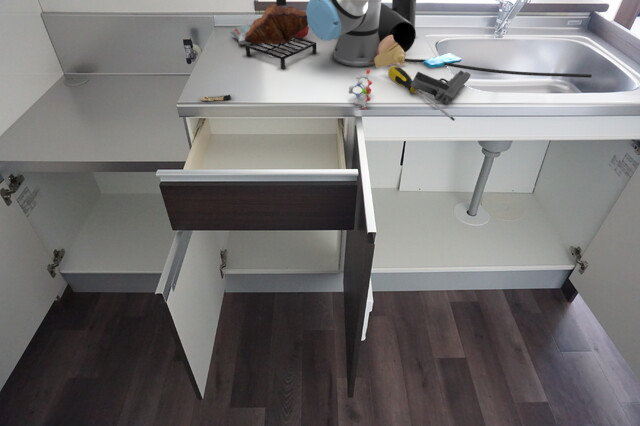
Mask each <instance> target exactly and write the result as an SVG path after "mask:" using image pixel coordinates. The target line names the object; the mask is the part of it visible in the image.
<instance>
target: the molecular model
mask: <svg viewBox="0 0 640 426" xmlns="http://www.w3.org/2000/svg"><path fill="white" fill-rule="evenodd" d="M370 73H371V69H369V68H368V69H366V72H365V74H364V75H362V76H361V75H356V77H355V78H356V80H357V82H356V84H355V85H350V86H349V87H348V89H349V90H348V93H349V94H353V95H355V101H354V102H353V103H354V105H356V106H357V105H360V106H361V108H362V109H363V110H364V111H366V110H367V107H366V104H367V103H368V102H369V101H371V97H370V96H369V95H370V94H371V93H372V89H371V87H370V86H371V85H373V82H372V80H370V79H369V75H370ZM361 79H365V80H366V81H367V85H365V84H364V83H363V80H361ZM356 87H358V88H359V89H362V90H361V92H359V93H357V92H354V88H356ZM362 96H365V97H366V100H365V101H364V102H362V103H361V102H359V99H361V98H362Z"/></svg>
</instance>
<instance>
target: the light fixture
mask: <svg viewBox="0 0 640 426" xmlns="http://www.w3.org/2000/svg"><path fill="white" fill-rule="evenodd" d="M416 13H417V0H391V7H389V6H388V5H387V4H385V3H383V2H381V8H380V18H379V28H378V35H379V40H380V42H381V41H382V40H383V39H384V38H386V37H387V36H389V35H393V39H394V40H395V42H396V43H398V44H397V45H400V46H401V48H402V49H403V51H404V52H405V53H407V52H408V51H409V50H410V49H411V48H412V47H413V45H414V43H415V40H416V35H417V32H416Z"/></svg>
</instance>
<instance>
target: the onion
mask: <svg viewBox="0 0 640 426" xmlns="http://www.w3.org/2000/svg"><path fill="white" fill-rule="evenodd" d="M309 31H310V27H309V25H308V26H307V27H306V28H305V29H304V30H302V31H300V32H297V34H296V37H299V38H303V39H305V38H306V37H307V36H308V35H309Z"/></svg>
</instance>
